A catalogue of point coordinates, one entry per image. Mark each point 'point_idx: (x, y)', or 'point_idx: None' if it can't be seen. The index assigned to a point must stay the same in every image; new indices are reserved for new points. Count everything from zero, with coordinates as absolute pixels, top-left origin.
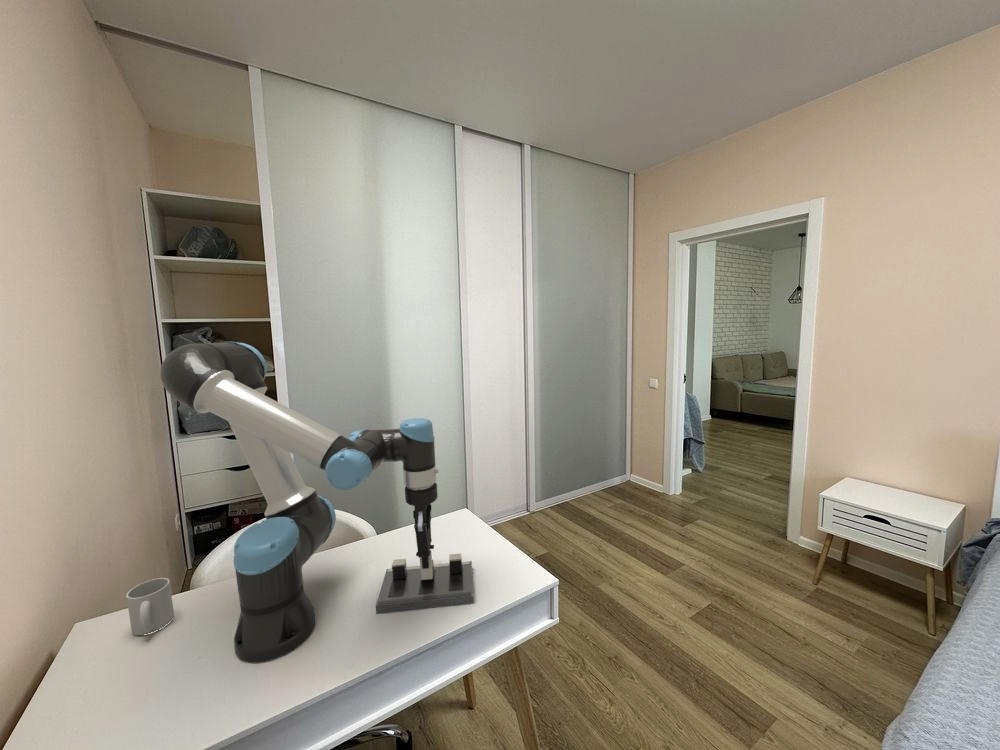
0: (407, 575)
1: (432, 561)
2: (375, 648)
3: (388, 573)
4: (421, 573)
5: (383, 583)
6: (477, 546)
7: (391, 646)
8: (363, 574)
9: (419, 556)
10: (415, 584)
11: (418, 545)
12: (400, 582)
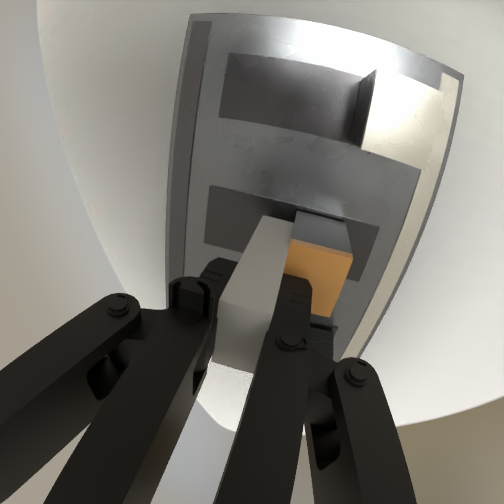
0: (377, 154)
1: (311, 311)
2: (77, 63)
3: (428, 72)
4: (255, 232)
5: (351, 35)
6: (429, 390)
7: (73, 102)
8: (479, 8)
9: (103, 304)
10: (286, 180)
11: (16, 369)
12: (328, 111)
